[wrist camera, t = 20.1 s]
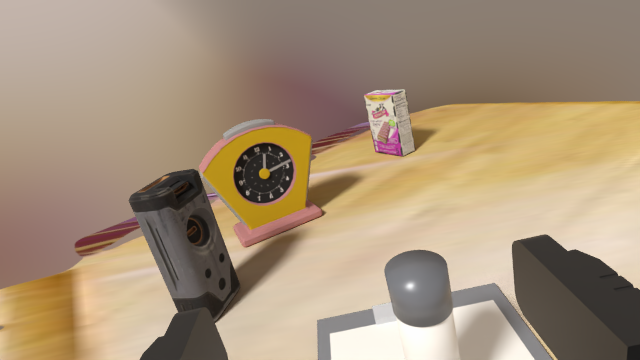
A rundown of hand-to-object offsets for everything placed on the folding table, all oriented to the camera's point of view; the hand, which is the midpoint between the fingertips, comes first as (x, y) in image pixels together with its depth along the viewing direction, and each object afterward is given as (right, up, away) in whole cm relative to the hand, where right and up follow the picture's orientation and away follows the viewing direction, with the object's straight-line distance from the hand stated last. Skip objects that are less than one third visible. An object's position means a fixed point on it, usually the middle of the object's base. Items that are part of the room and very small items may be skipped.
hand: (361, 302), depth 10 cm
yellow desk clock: (-10, -6, +69) cm, 70 cm away
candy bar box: (+19, +11, +94) cm, 97 cm away
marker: (+10, -16, +24) cm, 30 cm away
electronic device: (-17, -16, +48) cm, 53 cm away
